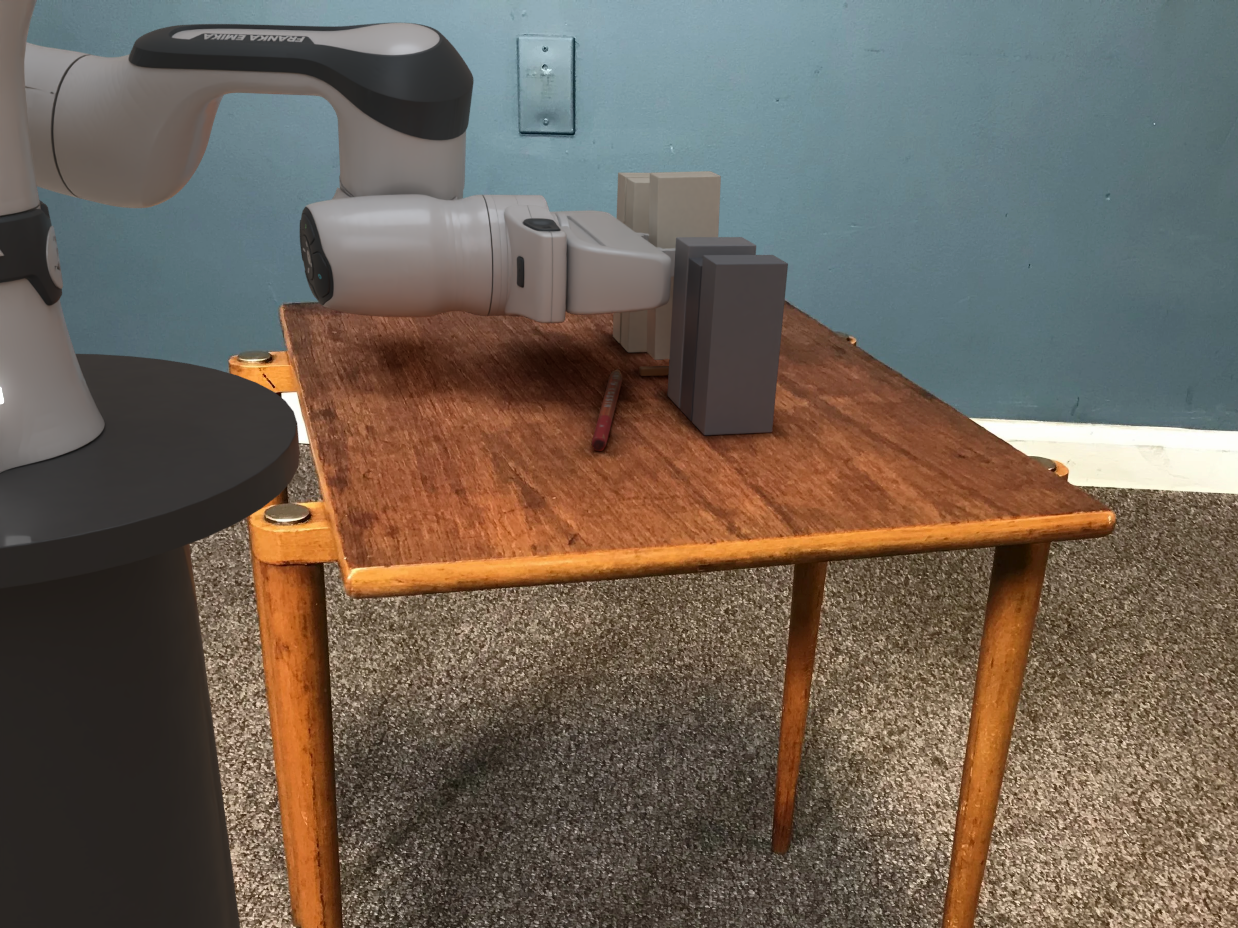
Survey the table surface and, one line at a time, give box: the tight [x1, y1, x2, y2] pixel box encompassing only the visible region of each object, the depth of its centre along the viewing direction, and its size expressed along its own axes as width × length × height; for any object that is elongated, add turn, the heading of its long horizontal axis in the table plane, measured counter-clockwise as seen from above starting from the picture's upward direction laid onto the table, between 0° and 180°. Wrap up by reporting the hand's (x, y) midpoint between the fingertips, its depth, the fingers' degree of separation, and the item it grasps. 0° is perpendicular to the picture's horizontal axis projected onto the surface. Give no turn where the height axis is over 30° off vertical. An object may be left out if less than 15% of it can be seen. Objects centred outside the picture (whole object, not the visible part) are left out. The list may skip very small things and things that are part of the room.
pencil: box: [591, 368, 623, 452], centre depth 95 cm, size 19×1×1 cm, turn 177°
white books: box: [612, 171, 669, 377], centre depth 106 cm, size 6×13×14 cm, turn 15°
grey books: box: [667, 236, 789, 436], centre depth 93 cm, size 5×10×12 cm, turn 15°
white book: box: [646, 170, 722, 361], centre depth 101 cm, size 5×2×14 cm, turn 105°
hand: (694, 254), depth 101 cm, fingers closed on white book, 2 cm apart
